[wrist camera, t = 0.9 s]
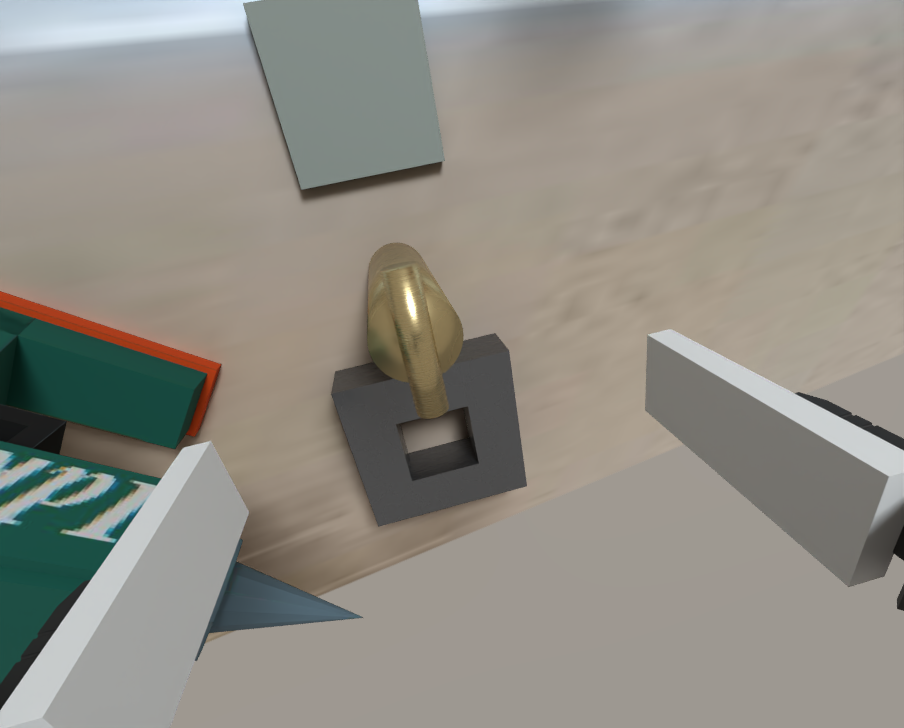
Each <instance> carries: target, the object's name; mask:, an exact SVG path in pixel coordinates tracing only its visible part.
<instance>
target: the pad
mask: <svg viewBox="0 0 904 728" xmlns="http://www.w3.org/2000/svg"><path fill="white" fill-rule="evenodd" d="M243 5H244V9H245V12H246V15H247V18H248V21H249V25H250V28H251V31H252V34H253V37H254V40H255V44H256V47H257V50H258V53H259V56H260V60H261V63H262V66H263V69H264V72H265V75H266V79H267V82H268V85H269V88H270V91H271V94H272V98H273V101H274V104H275V107H276V110H277V114H278V117H279V120H280V123H281V126H282V129H283V133H284V136H285V139H286V142H287V145H288V149H289V152H290V155H291V158H292V161H293V164H294V168H295V171H296V174H297V177H298V180H299V184H300V187H301V190H302V189H307V188H312V187H317V186H322V185H327V184H332V183H337V182H342V181H347V180H352V179H357V178H362V177H367V176H372V175H377V174H382V173H387V172H392V171H397V170H402V169H407V168H412V167H417V166H422V165H427V164H432V163H436V162H441V161H445V159H444V153H443V147H442V141H441V135H440V129H439V123H438V117H437V111H436V105H435V99H434V94H433V88H432V82H431V76H430V70H429V64H428V58H427V52H426V46H425V40H424V34H423V28H422V23H421V17H420V11H419V5H418V0H261V1H255V2H249V3H243Z"/></svg>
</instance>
